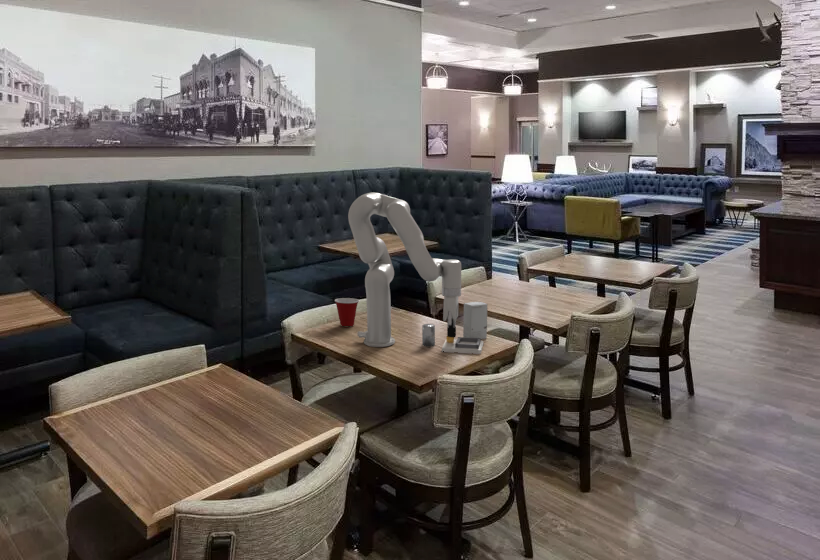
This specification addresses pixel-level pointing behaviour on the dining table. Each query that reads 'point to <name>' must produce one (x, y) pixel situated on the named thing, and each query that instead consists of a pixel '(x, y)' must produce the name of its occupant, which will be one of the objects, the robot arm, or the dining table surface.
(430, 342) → the block
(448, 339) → the button
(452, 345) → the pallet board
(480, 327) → the skincare box
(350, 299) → the plastic cup
